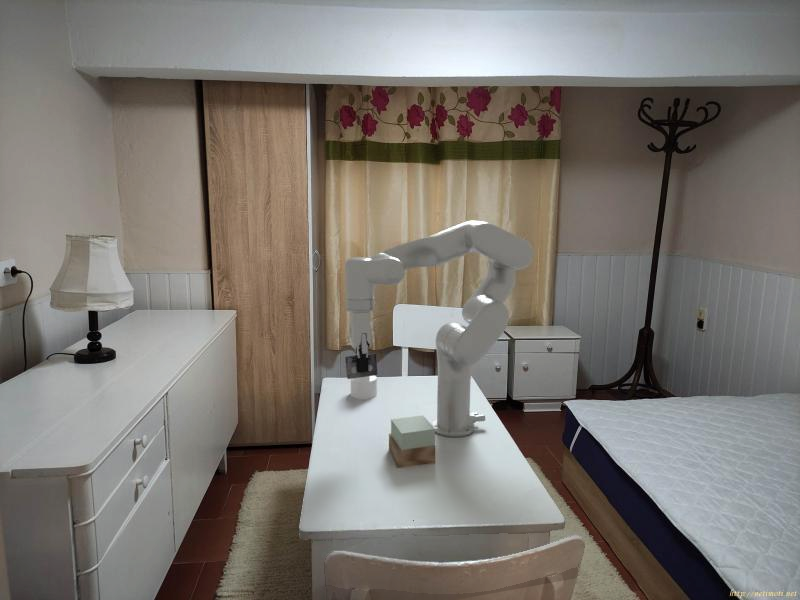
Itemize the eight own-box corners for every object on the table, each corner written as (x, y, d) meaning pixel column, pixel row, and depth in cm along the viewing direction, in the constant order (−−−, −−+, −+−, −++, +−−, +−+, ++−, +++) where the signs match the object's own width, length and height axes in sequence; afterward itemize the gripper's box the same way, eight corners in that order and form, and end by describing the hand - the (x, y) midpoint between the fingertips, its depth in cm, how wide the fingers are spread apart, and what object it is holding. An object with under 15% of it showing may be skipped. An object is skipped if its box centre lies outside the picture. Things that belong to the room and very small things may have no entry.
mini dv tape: (376, 373, 149) (374, 352, 148) (377, 375, 147) (375, 354, 146) (346, 377, 147) (345, 356, 146) (347, 379, 146) (345, 357, 145)
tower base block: (424, 447, 148) (424, 430, 147) (435, 464, 139) (435, 446, 138) (388, 450, 146) (388, 433, 145) (397, 468, 137) (397, 450, 136)
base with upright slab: (349, 390, 190) (349, 357, 187) (375, 389, 191) (374, 356, 189) (352, 400, 181) (351, 365, 179) (378, 398, 183) (378, 364, 180)
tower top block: (422, 430, 147) (423, 415, 146) (434, 445, 139) (435, 428, 138) (391, 435, 144) (391, 419, 143) (401, 450, 136) (401, 433, 135)
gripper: (342, 299, 150) (344, 362, 154) (350, 311, 135) (352, 381, 139) (369, 297, 152) (370, 360, 155) (379, 309, 137) (380, 378, 140)
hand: (361, 369), depth 147 cm, fingers closed on mini dv tape, 1 cm apart
